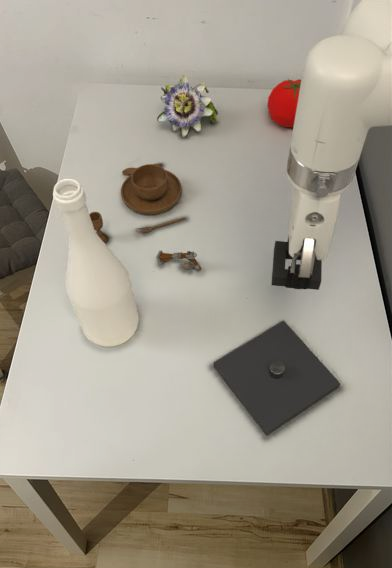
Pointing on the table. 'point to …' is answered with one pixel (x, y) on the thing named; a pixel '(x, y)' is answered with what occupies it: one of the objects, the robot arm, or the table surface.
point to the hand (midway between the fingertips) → (297, 265)
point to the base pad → (276, 391)
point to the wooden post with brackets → (180, 258)
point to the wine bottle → (94, 274)
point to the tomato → (284, 102)
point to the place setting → (145, 194)
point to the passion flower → (186, 106)
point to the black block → (280, 272)
